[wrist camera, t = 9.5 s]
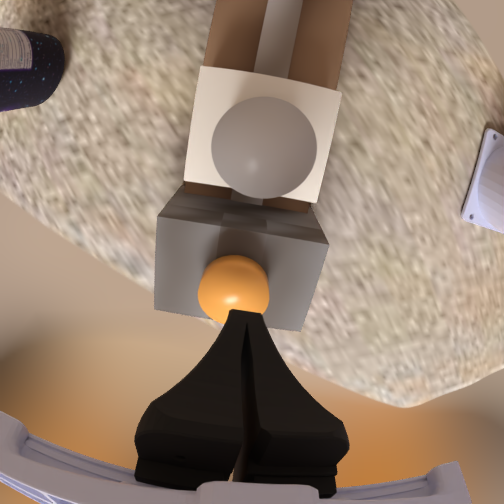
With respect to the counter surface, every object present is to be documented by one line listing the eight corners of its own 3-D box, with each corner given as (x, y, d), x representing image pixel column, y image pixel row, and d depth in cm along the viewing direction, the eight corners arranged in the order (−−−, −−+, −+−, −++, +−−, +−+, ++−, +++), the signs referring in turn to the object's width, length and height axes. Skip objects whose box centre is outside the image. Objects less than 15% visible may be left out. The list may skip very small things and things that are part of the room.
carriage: (328, 93, 16) (379, 90, 9) (307, 188, 19) (338, 244, 12) (209, 71, 16) (176, 50, 9) (193, 168, 19) (156, 214, 11)
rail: (362, -49, 13) (395, -86, 7) (291, 280, 24) (301, 335, 19) (233, -75, 12) (226, -123, 6) (174, 261, 24) (152, 313, 18)
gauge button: (273, 245, 18) (276, 273, 15) (260, 297, 20) (261, 329, 17) (209, 235, 18) (201, 261, 15) (202, 288, 19) (195, 319, 17)
